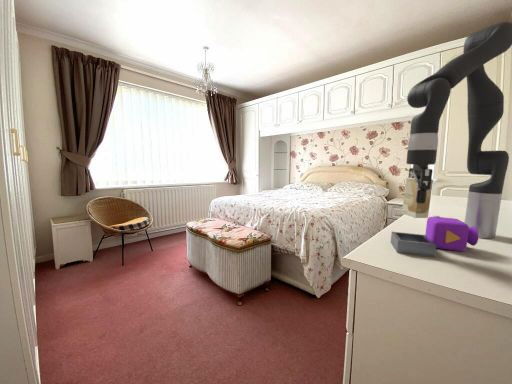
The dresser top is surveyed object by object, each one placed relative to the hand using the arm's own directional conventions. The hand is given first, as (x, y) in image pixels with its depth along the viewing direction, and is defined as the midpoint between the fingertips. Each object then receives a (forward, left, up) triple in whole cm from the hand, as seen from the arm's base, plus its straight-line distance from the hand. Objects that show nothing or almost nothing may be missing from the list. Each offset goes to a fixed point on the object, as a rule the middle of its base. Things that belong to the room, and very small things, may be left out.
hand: (416, 201), depth 74 cm
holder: (0, 0, -16) cm, 16 cm away
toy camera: (-8, +13, -16) cm, 23 cm away
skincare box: (0, 0, -5) cm, 5 cm away
